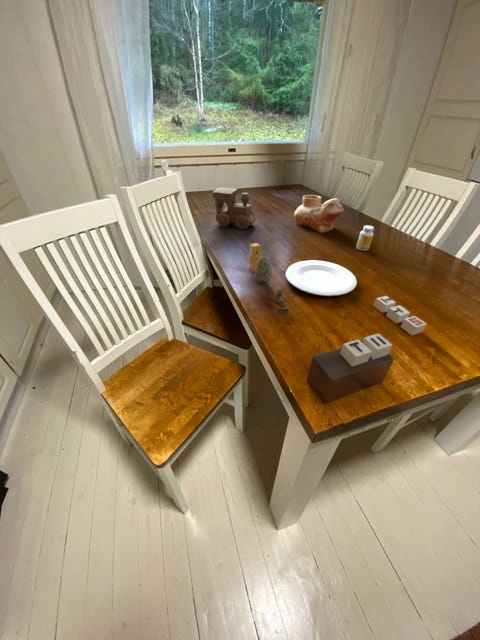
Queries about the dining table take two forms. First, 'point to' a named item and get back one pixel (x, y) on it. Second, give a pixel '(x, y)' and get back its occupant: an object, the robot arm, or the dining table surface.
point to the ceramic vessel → (318, 213)
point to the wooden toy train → (232, 208)
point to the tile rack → (344, 374)
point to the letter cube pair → (391, 309)
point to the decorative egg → (263, 270)
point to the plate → (321, 278)
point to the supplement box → (254, 255)
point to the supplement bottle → (365, 238)
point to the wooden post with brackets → (281, 300)
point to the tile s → (413, 325)
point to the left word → (365, 349)
